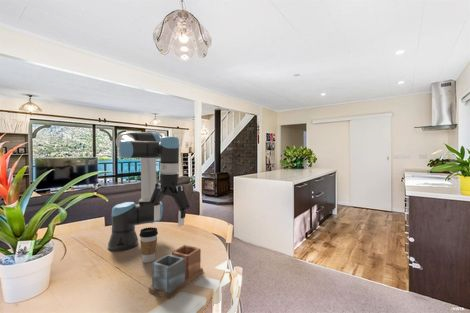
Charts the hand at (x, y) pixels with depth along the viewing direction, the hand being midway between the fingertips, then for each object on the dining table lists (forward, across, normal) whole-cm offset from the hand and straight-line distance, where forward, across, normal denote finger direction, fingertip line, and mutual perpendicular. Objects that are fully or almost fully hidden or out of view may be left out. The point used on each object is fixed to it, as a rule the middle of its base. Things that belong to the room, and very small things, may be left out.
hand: (168, 222), depth 97 cm
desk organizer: (+22, +8, -2) cm, 23 cm away
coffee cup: (+23, -17, +5) cm, 29 cm away
